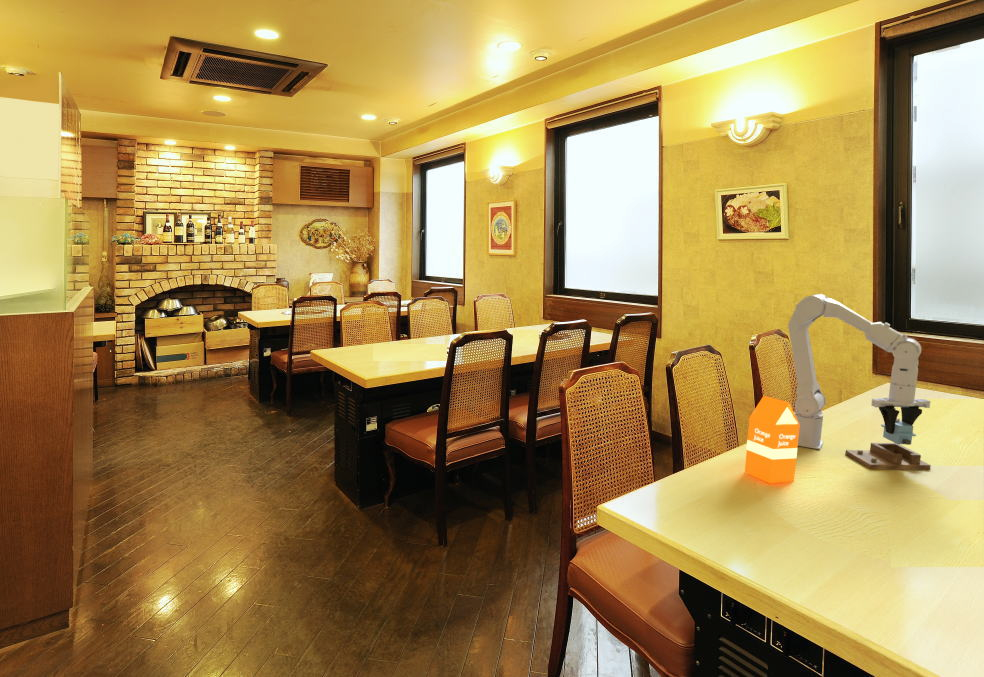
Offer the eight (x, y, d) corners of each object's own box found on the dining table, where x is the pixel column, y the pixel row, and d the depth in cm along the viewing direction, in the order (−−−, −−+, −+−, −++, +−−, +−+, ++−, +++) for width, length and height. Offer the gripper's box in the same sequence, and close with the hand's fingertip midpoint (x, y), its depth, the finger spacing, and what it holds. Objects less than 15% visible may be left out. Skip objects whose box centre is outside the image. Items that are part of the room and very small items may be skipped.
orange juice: (767, 470, 157) (775, 395, 156) (794, 481, 149) (802, 402, 147) (743, 472, 155) (750, 395, 153) (769, 483, 147) (777, 403, 145)
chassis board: (869, 468, 158) (871, 455, 158) (845, 454, 169) (846, 441, 168) (930, 469, 158) (931, 456, 158) (901, 454, 169) (903, 442, 169)
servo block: (914, 446, 158) (917, 425, 157) (901, 446, 158) (903, 425, 157) (892, 435, 167) (895, 415, 166) (879, 435, 167) (882, 415, 166)
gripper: (886, 387, 156) (880, 437, 158) (941, 387, 156) (934, 437, 158) (869, 380, 163) (863, 429, 165) (921, 381, 163) (915, 429, 165)
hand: (897, 432), depth 162 cm, fingers closed on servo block, 4 cm apart
